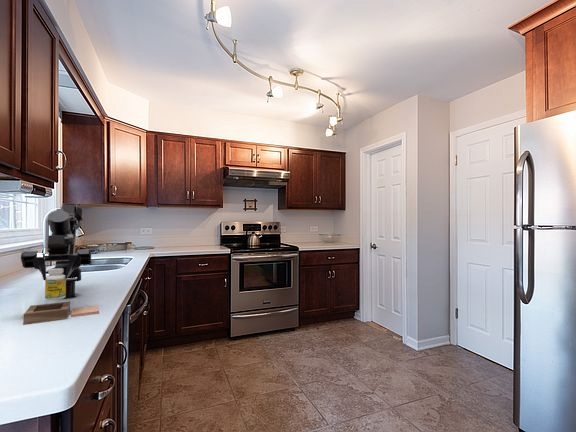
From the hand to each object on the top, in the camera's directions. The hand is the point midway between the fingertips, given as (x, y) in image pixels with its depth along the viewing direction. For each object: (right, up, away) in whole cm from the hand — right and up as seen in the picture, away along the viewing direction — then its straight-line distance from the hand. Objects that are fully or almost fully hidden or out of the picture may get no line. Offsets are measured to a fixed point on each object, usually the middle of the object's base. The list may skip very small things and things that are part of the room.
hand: (55, 278), depth 98 cm
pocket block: (-2, -12, 0) cm, 12 cm away
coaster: (+6, -12, +5) cm, 15 cm away
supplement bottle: (-1, -7, +1) cm, 7 cm away
